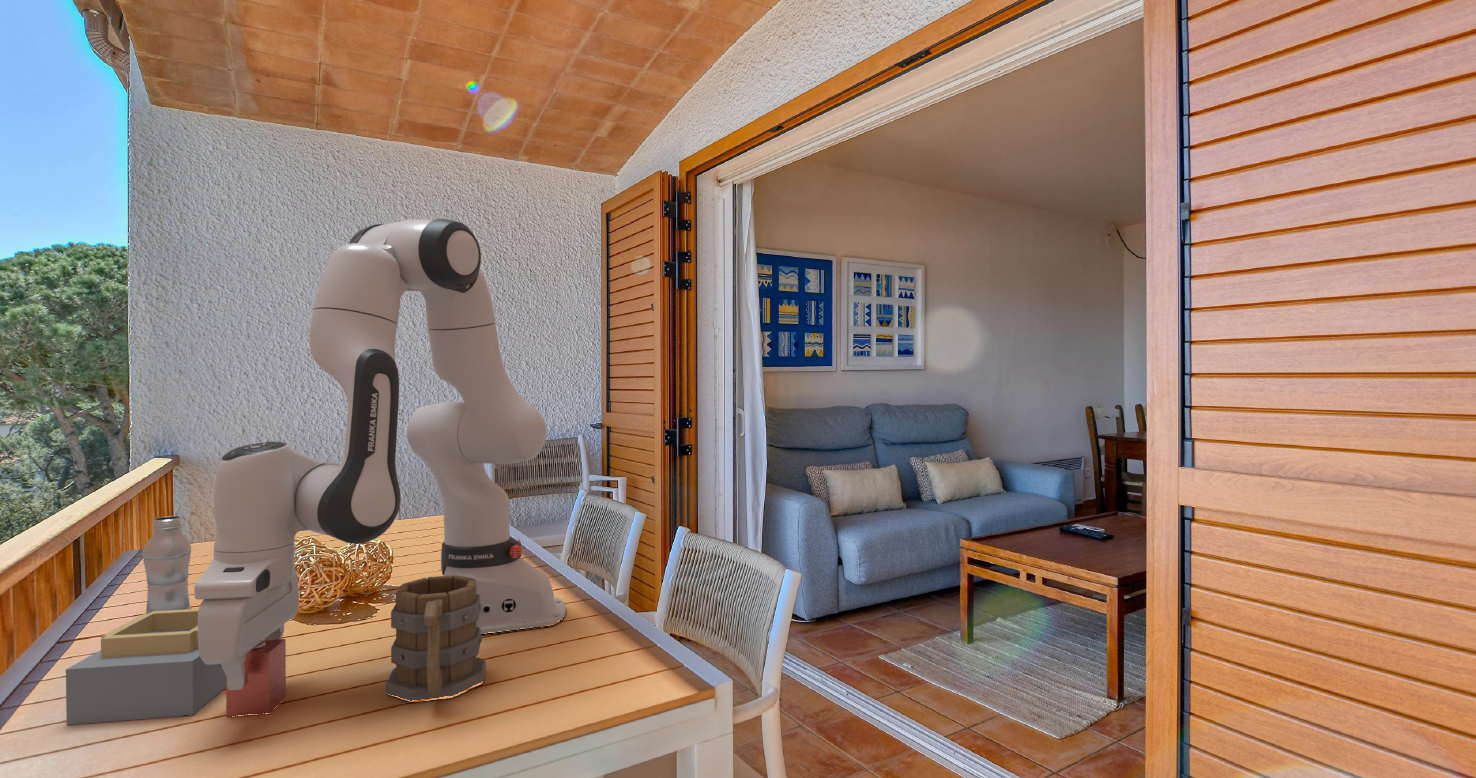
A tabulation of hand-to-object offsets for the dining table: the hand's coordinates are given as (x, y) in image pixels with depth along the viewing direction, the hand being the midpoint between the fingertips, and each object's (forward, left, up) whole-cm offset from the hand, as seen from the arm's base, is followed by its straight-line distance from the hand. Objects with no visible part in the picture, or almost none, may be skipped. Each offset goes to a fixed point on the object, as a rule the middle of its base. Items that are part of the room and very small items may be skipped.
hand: (254, 672), depth 95 cm
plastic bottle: (+26, -31, -5) cm, 41 cm away
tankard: (-22, 0, -5) cm, 23 cm away
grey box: (+14, -8, -5) cm, 17 cm away
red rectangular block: (0, 0, -5) cm, 5 cm away
